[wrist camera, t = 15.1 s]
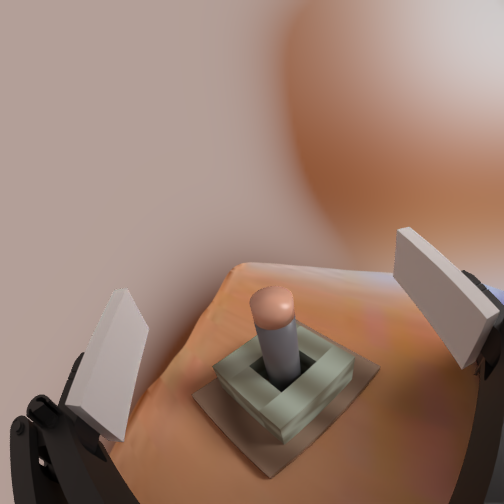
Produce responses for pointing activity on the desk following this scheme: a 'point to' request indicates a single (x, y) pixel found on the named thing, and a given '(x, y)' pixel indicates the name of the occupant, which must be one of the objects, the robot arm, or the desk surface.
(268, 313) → the peg
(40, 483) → the robot arm
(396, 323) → the desk surface
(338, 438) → the desk surface
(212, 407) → the socket
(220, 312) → the desk surface
